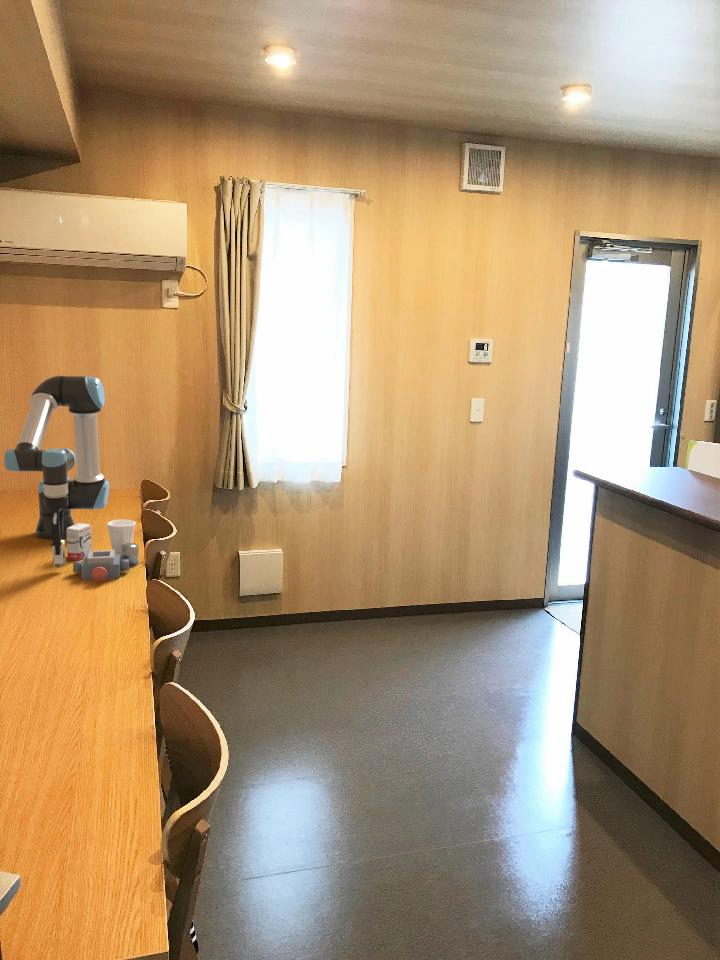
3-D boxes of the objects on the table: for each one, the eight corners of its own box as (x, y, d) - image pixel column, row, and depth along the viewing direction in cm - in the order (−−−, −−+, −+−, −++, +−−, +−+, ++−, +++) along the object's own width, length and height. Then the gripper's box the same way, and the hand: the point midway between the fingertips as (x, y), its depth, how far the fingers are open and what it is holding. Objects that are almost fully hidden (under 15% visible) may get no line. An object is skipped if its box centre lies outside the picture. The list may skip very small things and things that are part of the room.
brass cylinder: (54, 563, 245) (52, 538, 243) (66, 563, 246) (65, 538, 244) (52, 567, 242) (51, 542, 239) (65, 567, 243) (63, 542, 241)
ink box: (79, 561, 257) (77, 529, 254) (66, 559, 257) (65, 528, 255) (92, 554, 265) (91, 523, 262) (80, 552, 266) (79, 522, 263)
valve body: (75, 569, 248) (75, 549, 247) (129, 566, 253) (129, 547, 252) (70, 584, 233) (69, 564, 232) (128, 581, 238) (127, 561, 237)
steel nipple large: (121, 561, 258) (121, 543, 256) (138, 561, 259) (138, 542, 258) (120, 567, 252) (120, 548, 251) (138, 566, 254) (138, 547, 252)
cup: (141, 554, 266) (141, 521, 264) (125, 562, 257) (124, 527, 255) (119, 551, 270) (118, 518, 267) (102, 558, 260) (101, 524, 258)
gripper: (47, 489, 245) (51, 553, 250) (40, 501, 229) (44, 570, 235) (70, 489, 247) (73, 552, 252) (65, 501, 231) (68, 568, 237)
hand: (59, 560), depth 244 cm, fingers closed on brass cylinder, 4 cm apart
